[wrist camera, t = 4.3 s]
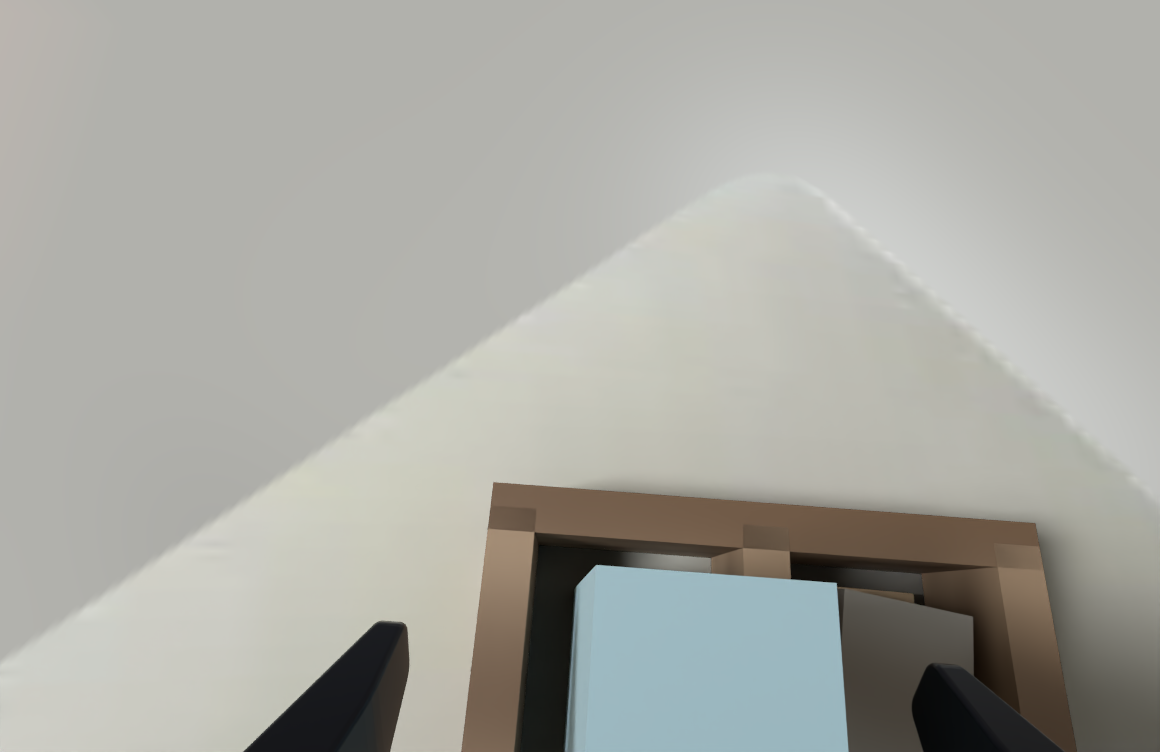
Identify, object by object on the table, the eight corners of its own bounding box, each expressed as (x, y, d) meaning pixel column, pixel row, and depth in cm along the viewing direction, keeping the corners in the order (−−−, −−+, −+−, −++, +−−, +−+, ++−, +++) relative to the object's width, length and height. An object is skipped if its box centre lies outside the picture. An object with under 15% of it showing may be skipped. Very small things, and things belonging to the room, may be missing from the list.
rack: (1008, 935, 14) (1126, 1022, 11) (461, 896, 13) (435, 972, 11) (954, 537, 16) (1035, 523, 14) (505, 503, 16) (493, 482, 14)
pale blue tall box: (668, 828, 14) (885, 1277, 5) (558, 820, 14) (556, 1254, 5) (672, 595, 16) (836, 582, 6) (574, 588, 16) (596, 564, 6)
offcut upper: (931, 873, 13) (976, 906, 12) (799, 841, 13) (828, 870, 12) (933, 615, 15) (973, 616, 13) (817, 589, 15) (844, 588, 14)
